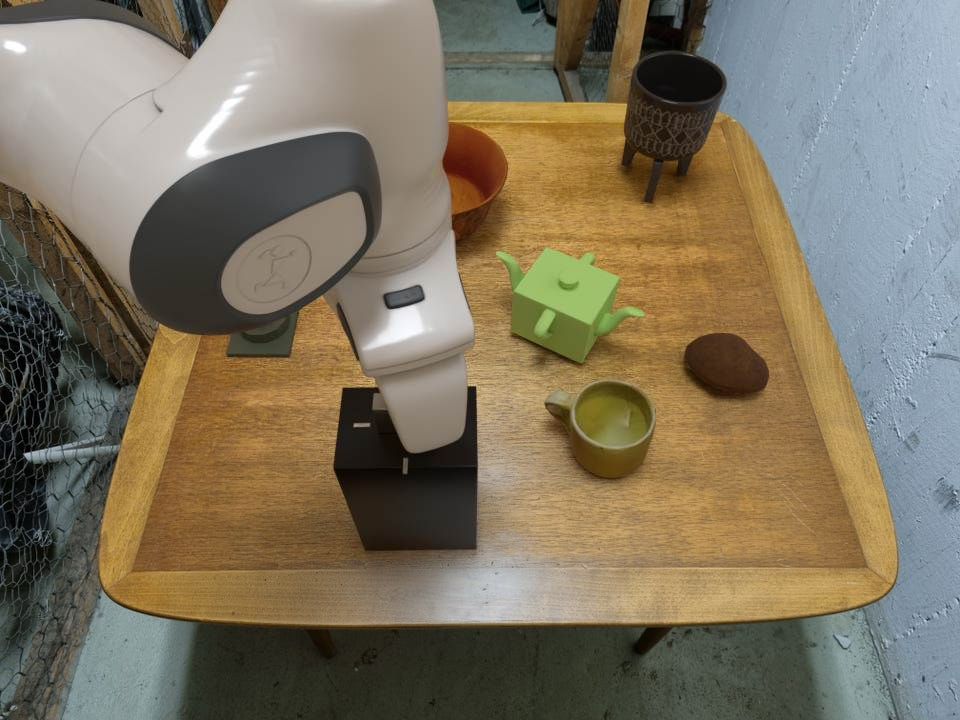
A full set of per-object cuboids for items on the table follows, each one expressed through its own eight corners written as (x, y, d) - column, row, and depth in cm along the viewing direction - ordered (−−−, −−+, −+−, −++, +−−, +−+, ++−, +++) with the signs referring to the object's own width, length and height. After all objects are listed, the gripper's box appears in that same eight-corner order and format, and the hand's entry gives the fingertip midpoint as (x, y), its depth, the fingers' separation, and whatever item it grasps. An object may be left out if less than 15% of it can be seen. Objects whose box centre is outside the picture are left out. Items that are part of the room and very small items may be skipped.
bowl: (422, 154, 110) (418, 100, 102) (532, 206, 103) (537, 152, 95) (336, 227, 100) (324, 173, 92) (450, 290, 93) (448, 238, 85)
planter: (671, 147, 112) (701, 44, 97) (707, 198, 105) (744, 96, 90) (599, 160, 110) (618, 57, 95) (630, 213, 102) (655, 111, 88)
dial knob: (377, 433, 57) (371, 407, 54) (379, 417, 58) (373, 390, 55) (436, 432, 58) (434, 407, 54) (436, 416, 58) (434, 390, 55)
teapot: (492, 299, 92) (495, 244, 84) (582, 277, 95) (593, 220, 86) (533, 388, 84) (540, 337, 75) (630, 361, 87) (648, 308, 78)
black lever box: (364, 557, 72) (331, 474, 55) (370, 477, 77) (342, 380, 60) (476, 555, 72) (478, 472, 55) (475, 476, 77) (476, 379, 61)
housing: (289, 357, 86) (285, 345, 84) (227, 356, 86) (221, 345, 84) (301, 298, 92) (298, 285, 90) (243, 297, 92) (238, 285, 90)
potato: (755, 415, 82) (776, 383, 76) (671, 384, 85) (686, 352, 79) (766, 371, 86) (787, 338, 80) (686, 344, 88) (700, 310, 83)
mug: (677, 425, 79) (668, 392, 71) (634, 500, 77) (620, 476, 68) (587, 383, 85) (570, 348, 77) (545, 452, 83) (523, 424, 75)
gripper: (290, 144, 45) (327, 283, 56) (369, 389, 34) (395, 500, 45) (382, 125, 46) (400, 265, 57) (487, 354, 35) (484, 471, 46)
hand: (399, 370), depth 51 cm, fingers open, 8 cm apart
